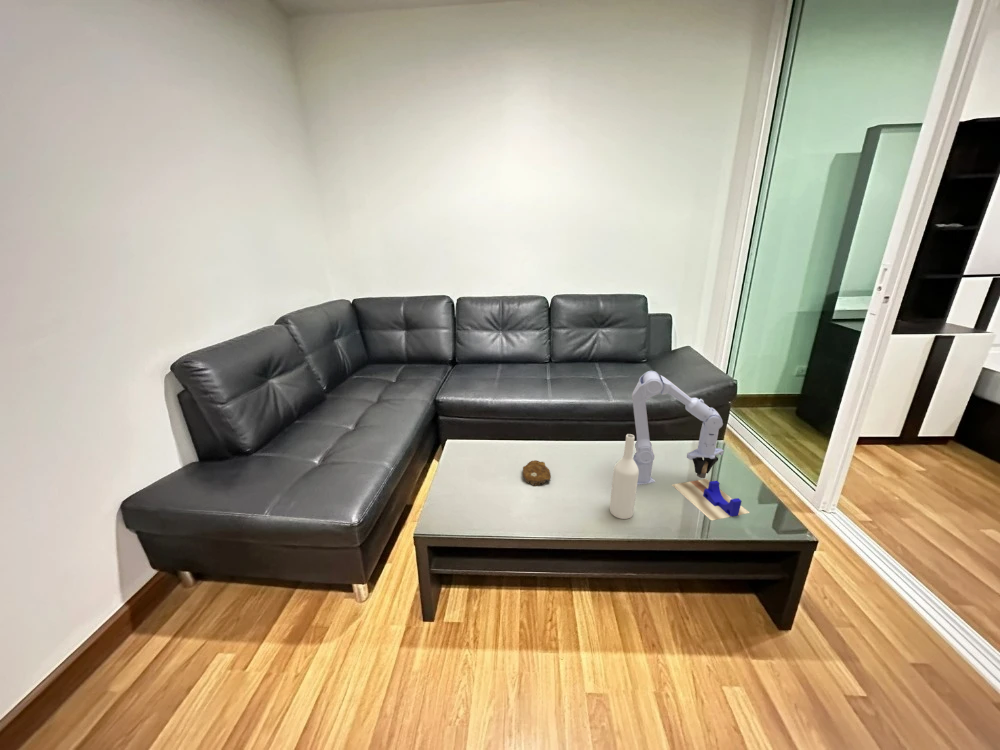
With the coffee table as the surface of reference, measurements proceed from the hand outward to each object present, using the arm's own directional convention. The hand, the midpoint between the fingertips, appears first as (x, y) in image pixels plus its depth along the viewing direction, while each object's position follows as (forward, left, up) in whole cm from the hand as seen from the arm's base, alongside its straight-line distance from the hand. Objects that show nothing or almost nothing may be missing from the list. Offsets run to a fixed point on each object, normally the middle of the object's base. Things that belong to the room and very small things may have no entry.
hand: (701, 472), depth 150 cm
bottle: (-37, -6, -6) cm, 38 cm away
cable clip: (-1, -12, -6) cm, 13 cm away
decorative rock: (-59, +23, -6) cm, 63 cm away
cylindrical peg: (0, 0, -1) cm, 1 cm away
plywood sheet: (-2, -7, -6) cm, 10 cm away
